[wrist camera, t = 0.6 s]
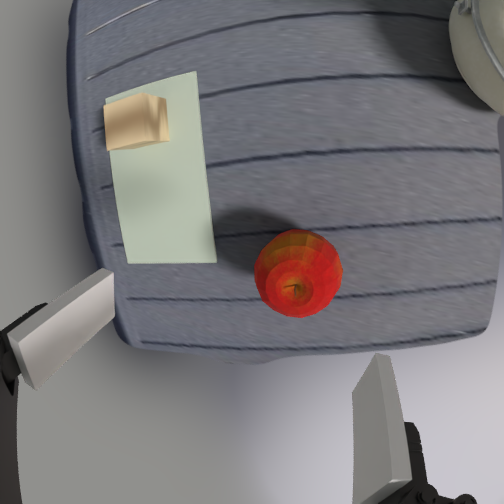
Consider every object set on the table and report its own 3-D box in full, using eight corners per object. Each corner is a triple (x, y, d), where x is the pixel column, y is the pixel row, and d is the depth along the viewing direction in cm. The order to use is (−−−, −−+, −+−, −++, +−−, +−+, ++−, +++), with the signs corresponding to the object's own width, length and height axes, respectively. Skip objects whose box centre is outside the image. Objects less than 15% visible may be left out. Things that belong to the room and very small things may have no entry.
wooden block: (129, 109, 36) (103, 105, 30) (166, 98, 35) (142, 92, 29) (133, 149, 38) (107, 150, 32) (169, 141, 36) (145, 140, 31)
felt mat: (107, 99, 36) (105, 98, 36) (196, 71, 33) (195, 71, 33) (129, 262, 44) (128, 263, 44) (217, 261, 41) (216, 262, 40)
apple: (340, 220, 35) (350, 250, 24) (335, 286, 38) (338, 339, 27) (266, 216, 37) (243, 244, 26) (266, 282, 40) (245, 331, 29)
